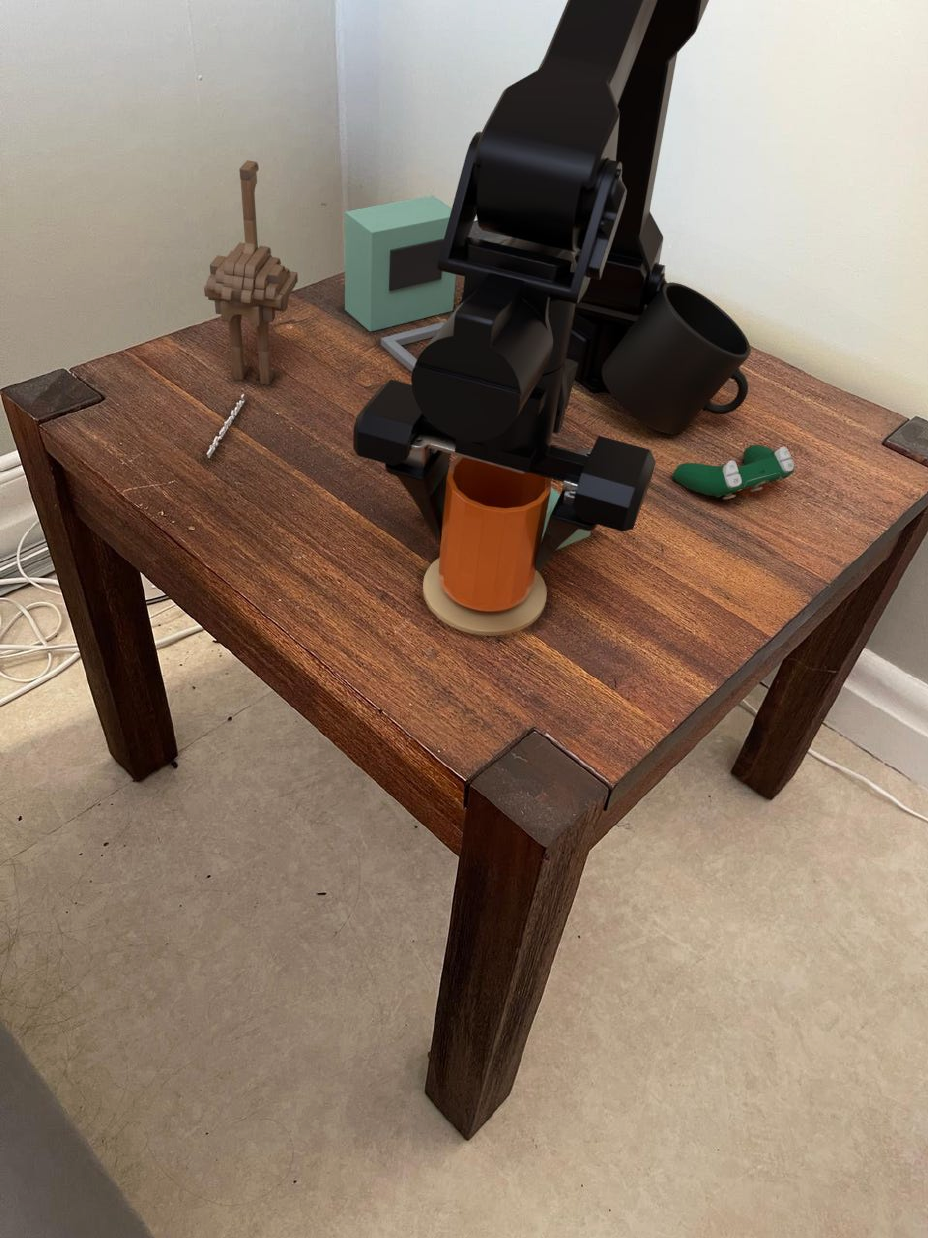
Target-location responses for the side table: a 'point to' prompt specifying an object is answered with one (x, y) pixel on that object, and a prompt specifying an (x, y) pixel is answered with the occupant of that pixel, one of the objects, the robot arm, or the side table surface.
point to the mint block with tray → (397, 269)
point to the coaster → (482, 620)
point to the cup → (491, 534)
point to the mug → (677, 360)
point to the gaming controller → (737, 472)
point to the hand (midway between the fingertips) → (489, 552)
